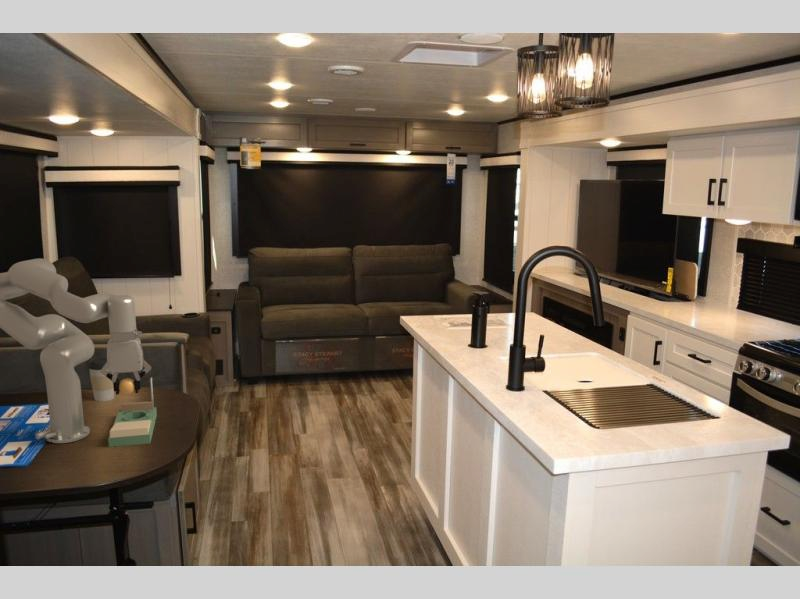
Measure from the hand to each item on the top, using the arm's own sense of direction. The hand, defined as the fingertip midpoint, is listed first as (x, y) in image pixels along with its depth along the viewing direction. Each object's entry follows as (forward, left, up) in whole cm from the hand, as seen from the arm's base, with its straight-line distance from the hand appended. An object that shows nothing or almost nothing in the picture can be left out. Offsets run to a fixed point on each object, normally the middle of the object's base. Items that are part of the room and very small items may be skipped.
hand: (127, 391), depth 199 cm
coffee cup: (+21, +41, -17) cm, 49 cm away
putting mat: (+7, +7, -17) cm, 19 cm away
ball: (0, 0, +2) cm, 2 cm away
